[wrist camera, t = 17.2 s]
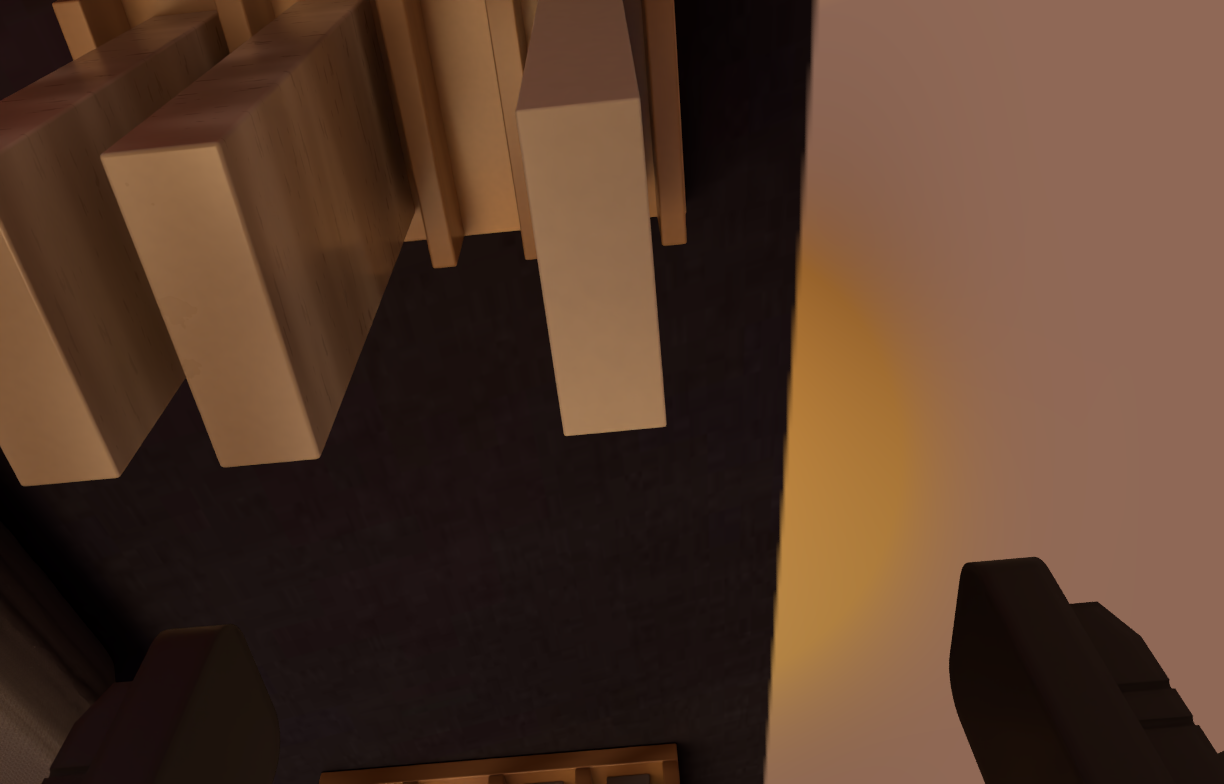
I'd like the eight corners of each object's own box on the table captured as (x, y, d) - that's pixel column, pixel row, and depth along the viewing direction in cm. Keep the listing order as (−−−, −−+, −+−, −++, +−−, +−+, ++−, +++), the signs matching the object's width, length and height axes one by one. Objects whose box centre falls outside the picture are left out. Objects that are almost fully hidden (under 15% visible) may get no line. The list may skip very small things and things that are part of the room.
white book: (616, -35, 29) (640, 97, 17) (636, 190, 32) (667, 427, 20) (542, -26, 29) (515, 111, 17) (570, 197, 32) (564, 436, 21)
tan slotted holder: (667, -81, 29) (732, 28, 16) (683, 202, 34) (745, 459, 21) (103, -20, 29) (-260, 133, 17) (199, 251, 34) (-26, 529, 22)
